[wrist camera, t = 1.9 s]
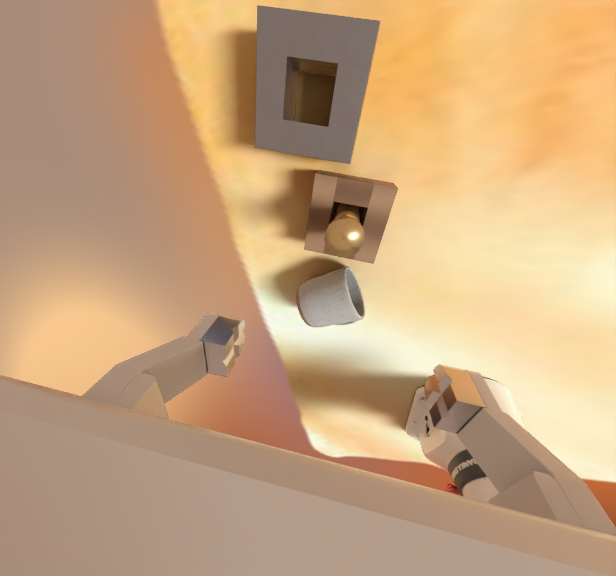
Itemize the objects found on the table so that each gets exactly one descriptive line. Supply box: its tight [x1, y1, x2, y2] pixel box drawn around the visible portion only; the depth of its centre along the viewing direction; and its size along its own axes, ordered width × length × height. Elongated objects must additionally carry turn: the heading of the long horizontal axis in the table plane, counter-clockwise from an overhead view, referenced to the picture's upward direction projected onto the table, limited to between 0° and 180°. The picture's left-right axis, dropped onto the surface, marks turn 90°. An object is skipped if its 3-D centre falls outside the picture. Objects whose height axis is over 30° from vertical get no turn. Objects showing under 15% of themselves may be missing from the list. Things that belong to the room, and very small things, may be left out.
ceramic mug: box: [296, 267, 365, 327], centre depth 35 cm, size 11×8×8 cm
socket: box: [255, 5, 380, 164], centre depth 23 cm, size 10×10×5 cm
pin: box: [324, 203, 365, 257], centre depth 27 cm, size 4×4×10 cm
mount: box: [304, 170, 398, 264], centre depth 29 cm, size 9×9×4 cm
